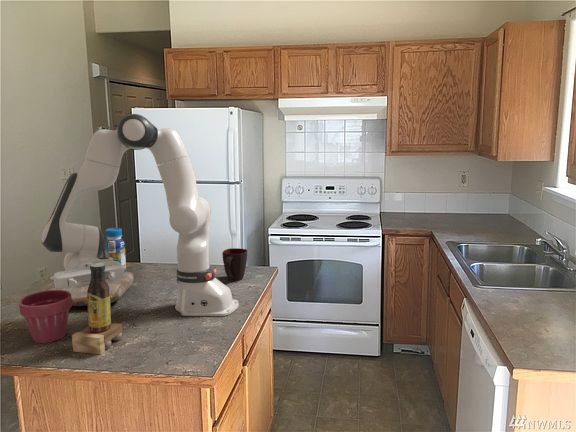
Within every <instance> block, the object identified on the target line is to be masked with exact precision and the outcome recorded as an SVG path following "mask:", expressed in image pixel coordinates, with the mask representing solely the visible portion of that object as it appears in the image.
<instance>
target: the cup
mask: <svg viewBox="0 0 576 432" xmlns="http://www.w3.org/2000/svg"><path fill="white" fill-rule="evenodd" d="M221 254H222V262H223V267H224V273H225V275H226V278H227V280H228V281H233V282H234V281H235V282H239V281H241V280H243V279H244V276H245V271H246V268H247V267H246V266H247V261H248V249H247V248H246V249H245V248H238V247H237V248H236V247H234V248H226V249H224V250H223V251H222V253H221Z"/></svg>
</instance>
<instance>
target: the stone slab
mask: <svg viewBox="0 0 576 432" xmlns="http://www.w3.org/2000/svg"><path fill="white" fill-rule="evenodd" d="M134 280H135V276H134V274H133V272H131V271H126V272H125V276H124V277H123V278H119V279H114V281H112V282H109V281H106V282H107V283H108V285H109V292H110V304H111V303H115V302H117V301H119V300H121V298H122V297H123V295H124V294H125V293H126V292H127V291H128V290H129V288H131V286H132V284H134V283H133V282H134ZM88 287H89V285H87V286H82V285H81V287H79V288H75V287H69V288H63V289H56V288H55V284H54V283H52V284H51V285H50V286H49V287H48V288H47V289H46V290H45V291H48V290H65V291H68V292H70V293H71V298H72V306H71V307H86V306H87V307H88V304H87V291H88Z"/></svg>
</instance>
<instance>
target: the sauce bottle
mask: <svg viewBox="0 0 576 432" xmlns="http://www.w3.org/2000/svg"><path fill="white" fill-rule="evenodd" d="M90 270H91V281H90V284H89V287H88V291H87V304H88V306H87V319H88V320H87V322H88V327H89V329H90V330H91V331H93V332H102V331H105V330H108V329H109V328H110V326H111V325H110V323H112V318H111V317H112V316H111V303H110V292H109V285H108V283H107V282H106V280H105V264H103V263H94V264H91V265H90Z"/></svg>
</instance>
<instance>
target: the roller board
mask: <svg viewBox="0 0 576 432" xmlns="http://www.w3.org/2000/svg"><path fill="white" fill-rule="evenodd" d="M110 325H111V326H110V328H109V329H108V330H105V331H102V332H93V331H91V330H90V329H89V326H88V327H87V326H86V328H84V329H82V330H81V331H79V332H77V331H75V332H73V334H71V340H72V341H71V343H72V351H73V352H74V353H75V352H77V353H85V354H93V355H94V354H95V355H103V353H105V352H106V350H107V349H108V350H109V349H111V346H112V341H117V342H118V341H119V342H120V341H121V340H122V337H123V333H122V332H124V331H123V324H122V323H112V322H111V323H110Z"/></svg>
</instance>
